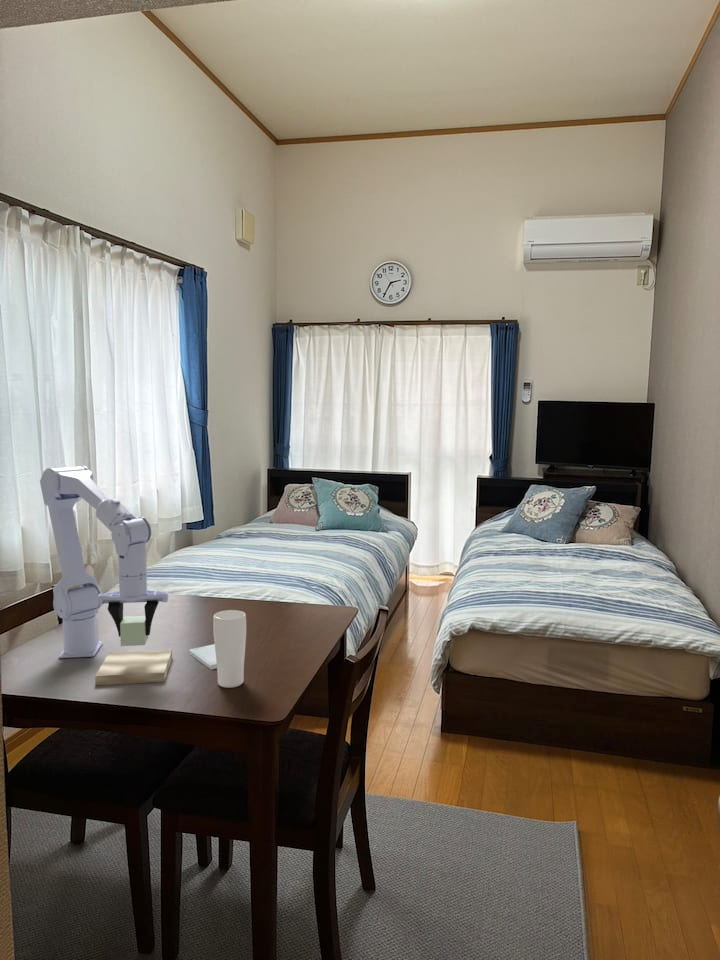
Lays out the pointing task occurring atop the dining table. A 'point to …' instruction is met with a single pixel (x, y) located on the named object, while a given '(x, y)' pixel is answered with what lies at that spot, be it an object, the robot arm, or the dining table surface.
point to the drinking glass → (230, 646)
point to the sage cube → (133, 631)
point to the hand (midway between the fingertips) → (134, 634)
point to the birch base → (134, 667)
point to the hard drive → (205, 655)
